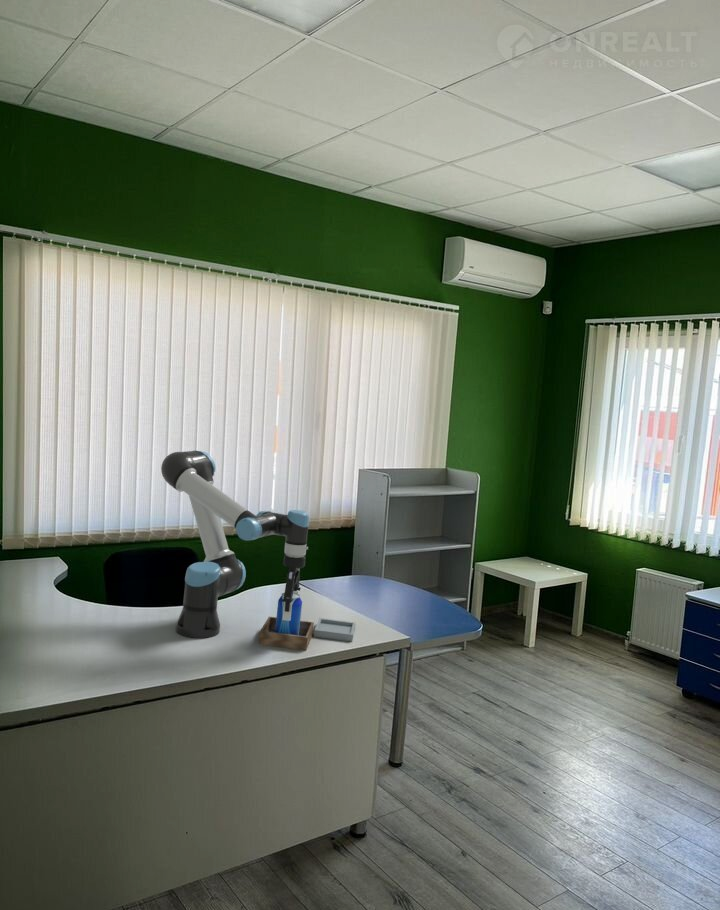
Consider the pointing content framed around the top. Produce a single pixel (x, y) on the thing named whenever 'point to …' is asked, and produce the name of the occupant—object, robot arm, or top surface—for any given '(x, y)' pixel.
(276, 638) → the crate
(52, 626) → the top surface
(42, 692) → the top surface
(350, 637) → the tray
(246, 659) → the top surface
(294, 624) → the beer can
